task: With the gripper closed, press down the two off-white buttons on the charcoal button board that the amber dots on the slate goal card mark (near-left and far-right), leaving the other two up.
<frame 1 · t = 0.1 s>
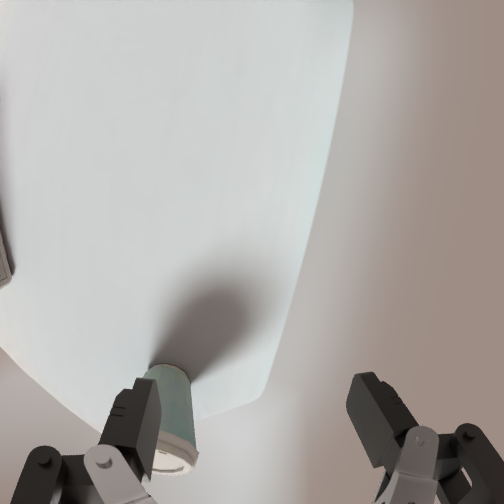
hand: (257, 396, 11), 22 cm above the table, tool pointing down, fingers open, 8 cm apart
disposable coffee cup: (165, 376, 40), on the table
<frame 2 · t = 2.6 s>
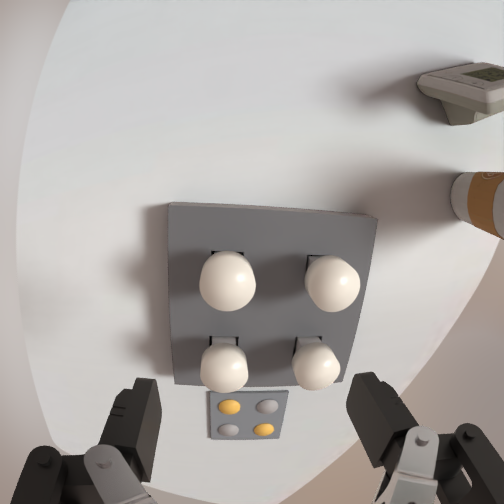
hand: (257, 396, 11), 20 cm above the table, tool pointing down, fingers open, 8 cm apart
board: (267, 300, 32), on the table
goal card: (247, 416, 37), on the table
button a: (227, 274, 26), point 4 cm above the table, slide at 0.0 cm
button d: (311, 358, 29), point 5 cm above the table, slide at 0.0 cm
button b: (223, 359, 28), point 4 cm above the table, slide at 0.0 cm
coffee cup: (464, 196, 31), on the table
button c: (326, 277, 27), point 4 cm above the table, slide at 0.0 cm
digital clock: (457, 88, 27), on the table
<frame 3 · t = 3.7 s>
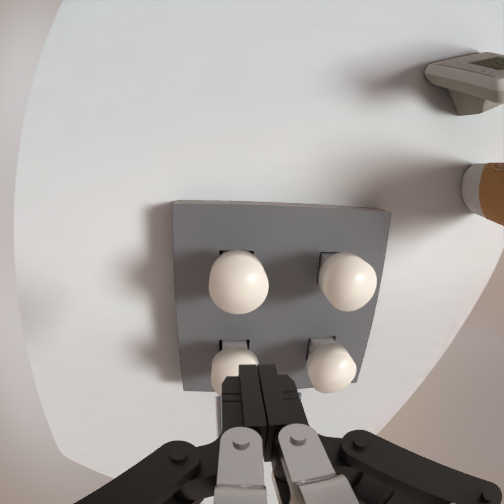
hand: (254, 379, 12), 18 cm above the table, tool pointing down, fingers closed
board: (278, 301, 31), on the table
button a: (237, 274, 25), point 4 cm above the table, slide at 0.0 cm
button d: (326, 359, 28), point 5 cm above the table, slide at 0.0 cm
button b: (235, 363, 27), point 4 cm above the table, slide at 0.0 cm
coffee cup: (474, 188, 30), on the table
button c: (340, 275, 26), point 5 cm above the table, slide at 0.0 cm
digital clock: (463, 78, 26), on the table
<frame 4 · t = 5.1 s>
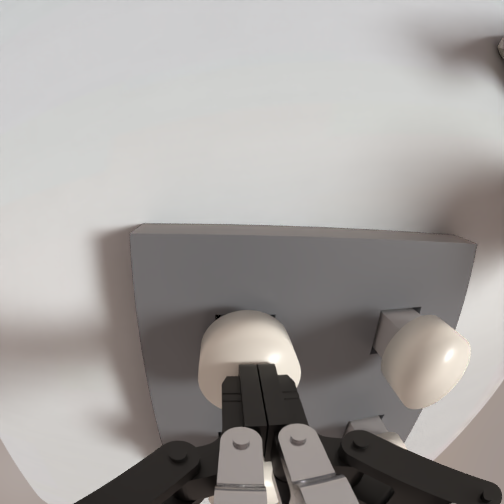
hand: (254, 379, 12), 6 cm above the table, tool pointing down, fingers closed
board: (306, 373, 19), on the table
button a: (245, 346, 15), point 3 cm above the table, slide at 1.5 cm, touching gripper
button d: (370, 449, 17), point 4 cm above the table, slide at 0.0 cm
button b: (242, 466, 16), point 4 cm above the table, slide at 0.0 cm
button c: (412, 348, 14), point 4 cm above the table, slide at 0.0 cm
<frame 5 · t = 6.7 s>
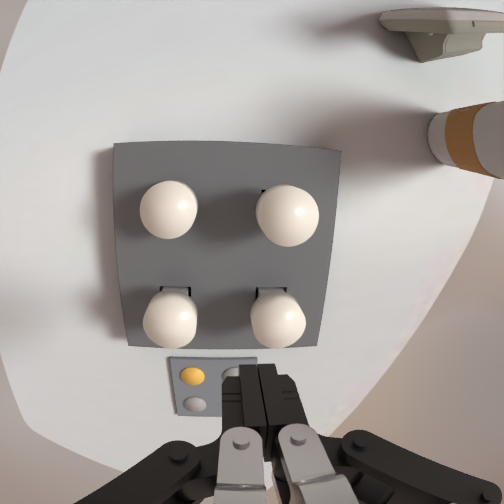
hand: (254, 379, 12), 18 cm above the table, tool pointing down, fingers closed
board: (223, 248, 29), on the table
goal card: (214, 388, 34), on the table
button a: (172, 205, 25), point 3 cm above the table, slide at 1.6 cm
button d: (274, 311, 27), point 4 cm above the table, slide at 0.0 cm
button b: (173, 310, 26), point 4 cm above the table, slide at 0.0 cm
coffee cup: (443, 138, 28), on the table
button c: (282, 211, 24), point 4 cm above the table, slide at 0.0 cm
digital clock: (426, 30, 24), on the table
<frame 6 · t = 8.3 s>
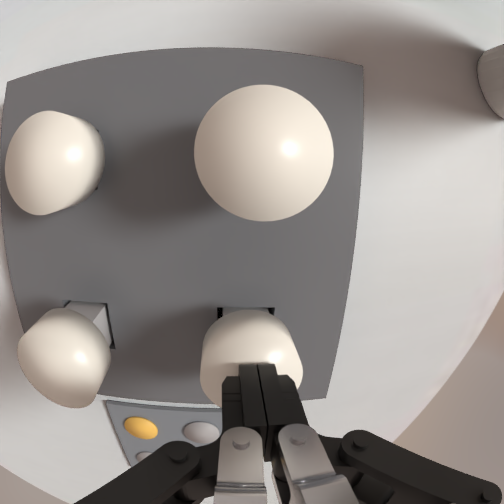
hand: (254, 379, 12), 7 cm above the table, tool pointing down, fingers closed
board: (165, 238, 17), on the table
goal card: (175, 444, 21), on the table
button a: (68, 161, 12), point 3 cm above the table, slide at 1.6 cm
button d: (247, 345, 15), point 4 cm above the table, slide at 0.7 cm, touching gripper
button b: (75, 343, 13), point 4 cm above the table, slide at 0.0 cm
coffee cup: (496, 86, 15), on the table
button c: (256, 155, 11), point 4 cm above the table, slide at 0.0 cm
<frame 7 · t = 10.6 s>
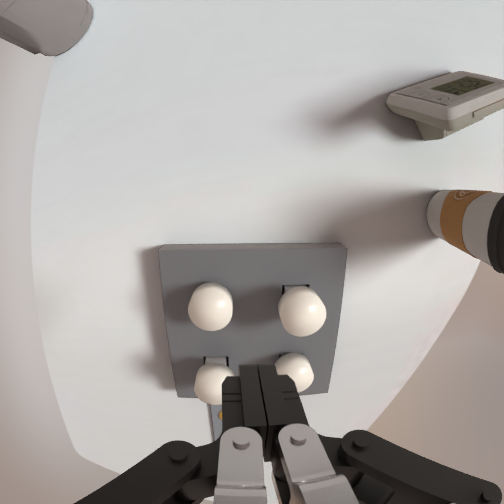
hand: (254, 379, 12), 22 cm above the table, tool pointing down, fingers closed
board: (252, 324, 36), on the table
goal card: (245, 423, 40), on the table
button a: (212, 300, 32), point 3 cm above the table, slide at 1.6 cm
button d: (291, 366, 34), point 3 cm above the table, slide at 1.6 cm
button b: (215, 376, 33), point 4 cm above the table, slide at 0.0 cm
coffee cup: (441, 213, 34), on the table
button c: (298, 305, 31), point 4 cm above the table, slide at 0.0 cm
digital clock: (431, 102, 30), on the table
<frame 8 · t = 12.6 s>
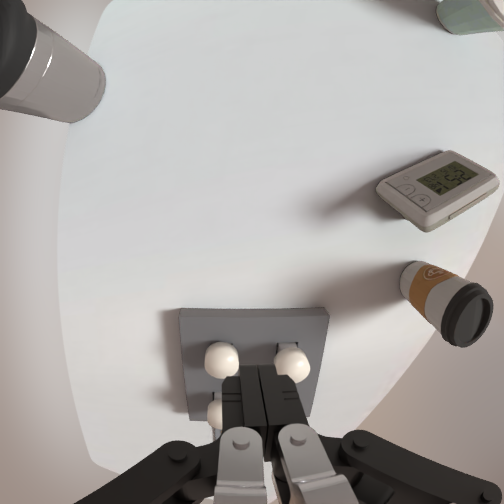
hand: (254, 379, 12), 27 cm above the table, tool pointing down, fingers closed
board: (251, 366, 44), on the table
button a: (221, 354, 39), point 3 cm above the table, slide at 1.6 cm
button b: (222, 407, 40), point 4 cm above the table, slide at 0.0 cm
coffee cup: (413, 278, 42), on the table
disposable coffee cup: (448, 21, 31), on the table
button c: (289, 359, 38), point 4 cm above the table, slide at 0.0 cm
digital clock: (417, 181, 38), on the table
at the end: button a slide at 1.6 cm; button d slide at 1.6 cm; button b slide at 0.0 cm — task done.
